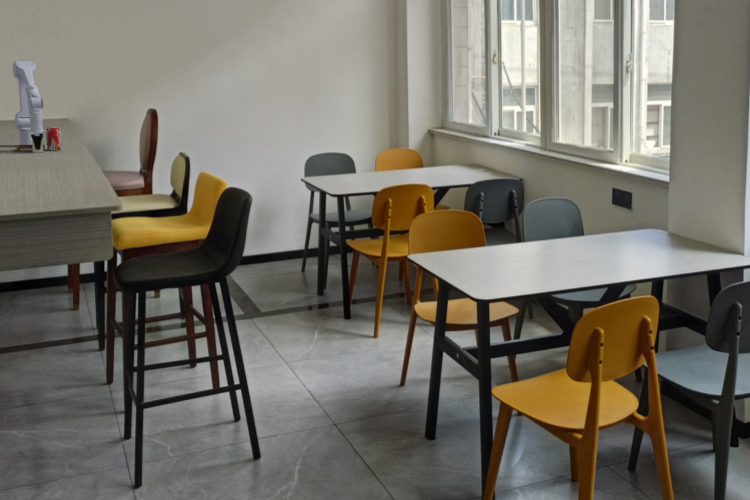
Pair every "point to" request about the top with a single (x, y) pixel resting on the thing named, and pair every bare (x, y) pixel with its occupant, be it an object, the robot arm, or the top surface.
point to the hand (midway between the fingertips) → (37, 148)
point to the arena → (26, 147)
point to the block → (37, 150)
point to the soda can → (53, 138)
